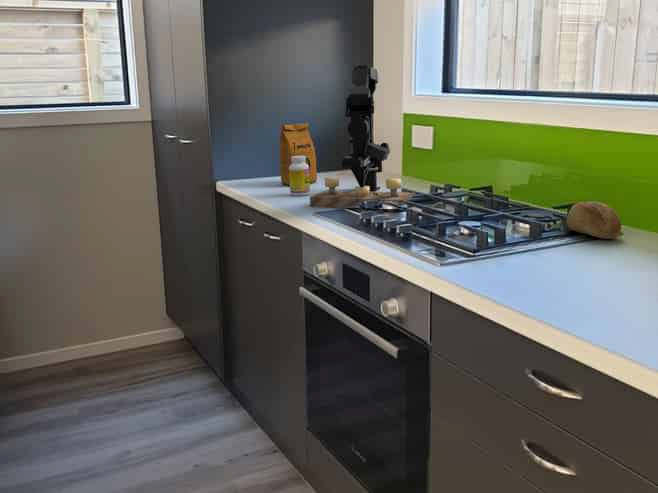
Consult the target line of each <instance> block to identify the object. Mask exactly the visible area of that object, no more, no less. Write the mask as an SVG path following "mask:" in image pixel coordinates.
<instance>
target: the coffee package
mask: <svg viewBox="0 0 658 493" xmlns="http://www.w3.org/2000/svg"><path fill="white" fill-rule="evenodd" d="M308 128H309V122H304V123H297V124H282V125H281V128H280V136H279V144H278V150H279V167H280V168H279V170H280V179H281V182H280V183H281V184H282V185H287V186H290V176H289V166H290V165H291V164H292V160H291V157H293V156H305V159H306V160H305V163H306V164H307V165H308V166H309V181H310V184H315V183H317V180H318V174H317V158H316V157H317V156H316V152H315V151H316V150H315V147H314V144H313V141H312V138H311V136H310V132H309V129H308Z"/></svg>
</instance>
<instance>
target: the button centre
mask: <svg viewBox="0 0 658 493" xmlns="http://www.w3.org/2000/svg"><path fill="white" fill-rule="evenodd" d="M354 191H355V195H356V196H359V195H362V196H368V195H370V187H369V186H364V187H360V186H359V185H357V186H355V187H354Z"/></svg>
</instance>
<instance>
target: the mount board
mask: <svg viewBox="0 0 658 493" xmlns="http://www.w3.org/2000/svg"><path fill="white" fill-rule="evenodd" d="M335 191H336V195H329V189H325V190H323V191H320V192H318V193H316V194H313V195H311V196H309V207H312V208H313V207H314V208H315V207H316V208H333V209H334V208H335V209H346V208H345V207H346V206H354V205H357V204H358V202H360V201H364V202H365V201H367V200H377V201H392V202H398V203H405V202H406V201H408V200H410V199H411V198H412V197H413V196H414V195H417V194H416V192H405V191H404V192H398V191H397V197H391V196H390V191H370V195H368V196H364V197H362V198H361V197H359V196H356V195H355V190H337V189H335ZM374 192H375V193H377V194H378V195H377V196H374V195H373V193H374Z"/></svg>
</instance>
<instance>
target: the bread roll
mask: <svg viewBox="0 0 658 493" xmlns="http://www.w3.org/2000/svg"><path fill="white" fill-rule="evenodd" d="M566 225H567V226H568V228H569V229H570V230H571V231H573V232H577V233H581V234H584V235H588V236H592V237H595V238H599V239H604V240H605V239H606V240H611V239H615V238H618V236H619V235H620V234H621V231H622V222H621V219H620V217H619V215H618V213H617V212H616V210H615V209H614V208H613V207H611V206H610V205H608V204H606V203H603V202H599V201H595V200H594V201H580V202H578V203H575V204H573V205H571V207H570V209H569V211H568V214H567V217H566Z"/></svg>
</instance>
